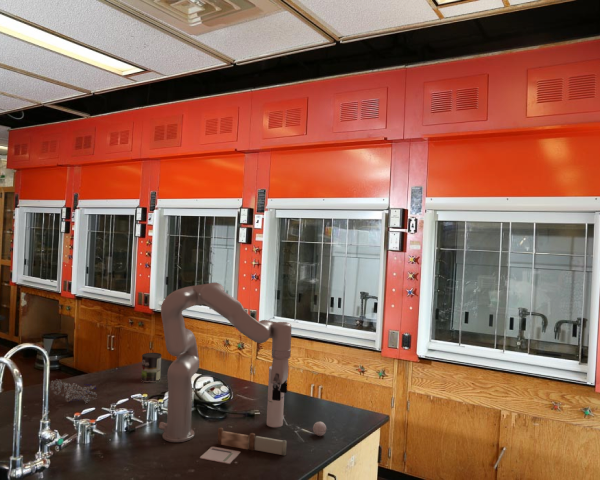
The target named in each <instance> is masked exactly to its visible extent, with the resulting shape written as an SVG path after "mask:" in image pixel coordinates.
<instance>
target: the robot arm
mask: <svg viewBox="0 0 600 480" xmlns="http://www.w3.org/2000/svg"><path fill="white" fill-rule="evenodd" d="M201 305H205V306H207V307H208V308H210V309H211V310H213V311H214V312H215V313H216V314H219V315H220V316H221V317H223V318H224V319H225V320H227V321H228V322H229V323H230V324H231V325H232V327H234V328H235V329H236V330H237V331H238V332H239V333H241V334H242V335H243V336H244V337H247V338H248V339H250V341H253V342H255V343H257V344H263V343H264V344H265V343H266V342H267V341H268V340H269V339H271V340H272V343H271V359H272V362H271V366H272V370H271V383H273V389H272V390H273V391H272V400H276V401H280V399H281V392H282V393H284V394H287V392H288V377H289V359H291V352H292V350H291V349H292V324H291V323H290V322H287V321H272V320H269V319H268V320H266V319H262V320H261V319H260V320H259V321H258V320H257V319H255V318H254V317H252V316H251V315H250V314H249V313H248V312H247V311H246V310H245V308H244V306H243V304H242V303H241V301H239V300H238V299H237V298H235V297H234V296H232V295H230V294H229V293H227V292H226V291H225V288H224V286H223V285H222V284H221V283H218V282H214V281H213V282H208V283H204V284H196V285H191V286H190V285H189V286H185V287H182V288H179V289H175V290H173V291H172V292H171V293H170V294H168V295H167V296H166V297H165V298H164V299H163V301H162V303H161V308H160V314H161V321H162V326H163V333H164V334H163V335H164V341H165V347H166V351H167V353H168V354H169V355H171V356H173V357H176V359H175V360H173V361H172V363H171V364H170V365H169V367H168V369H167V373H166V374H167V376H166V377H167V386H168V387H167V392H168V393H167V415H166V422H164V421H160V422H159V426H158V429H159V430H163V433H162V439H163V440H164V441H167V442H170V443H184V442H186V441H187V442H188V441H189V440H192V439H193V438H194V437H195V431H194V430H193V429H192V411H193V410H192V407H193V384H192V383H193V381H192V378H193V376H194V375H196V373H197V372H198V371H199V368H200V357H199V351H198V344H197V339H196V336H195V334H194V333H193V331H192V330H191V329H188V328H186V323H185V319H184V316H183V311H184V310H187V309H189V308H191V307H193V306H194V307H195V306H201ZM278 385H279V387H278Z"/></svg>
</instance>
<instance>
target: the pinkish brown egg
mask: <svg viewBox="0 0 600 480" xmlns="http://www.w3.org/2000/svg"><path fill="white" fill-rule="evenodd" d="M312 430H313V431H312V432H313V433H314V434H315V435H316V436H319V437H321V436H324V435H325V434H326V432H327V425H326V424H325V423H324V422H323V421H316V422H315V423H314V424H313V427H312Z"/></svg>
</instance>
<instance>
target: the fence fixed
mask: <svg viewBox="0 0 600 480" xmlns="http://www.w3.org/2000/svg"><path fill="white" fill-rule="evenodd" d="M255 437H256V433H254V432H251V433H249V435H248V434H243V433H239V432H231V431H226V430H224V428H223V427H218V429H217V442H216V443H217V445H218V446H220V445H222V446H226V447H233V448H237V449H243V450H249V451H252V452H253V451H255Z"/></svg>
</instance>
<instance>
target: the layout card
mask: <svg viewBox="0 0 600 480" xmlns="http://www.w3.org/2000/svg"><path fill="white" fill-rule="evenodd" d="M240 454H241V451H239V450H234V449H228V448H223V447H217V446H210V447H209V449H208V450H206V451H205V452H204V453H203V454H202V455H200V457H199V459H201V460H208V461H210V462H211V461H213V462H218V463H221V464H227V465H231V463H233V461H234V460H235V459H236V458H237V457H238V456H240Z"/></svg>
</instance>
